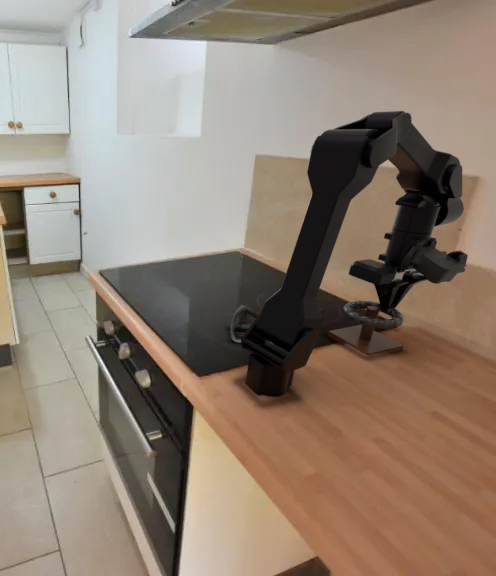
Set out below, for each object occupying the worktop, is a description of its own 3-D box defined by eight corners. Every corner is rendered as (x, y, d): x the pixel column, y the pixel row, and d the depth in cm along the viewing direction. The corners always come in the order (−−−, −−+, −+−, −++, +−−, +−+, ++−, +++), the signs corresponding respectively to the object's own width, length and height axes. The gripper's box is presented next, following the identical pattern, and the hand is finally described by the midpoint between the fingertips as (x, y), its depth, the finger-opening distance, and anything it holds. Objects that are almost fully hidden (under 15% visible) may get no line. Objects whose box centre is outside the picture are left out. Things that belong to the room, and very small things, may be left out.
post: (366, 359, 70) (377, 321, 67) (327, 336, 78) (335, 302, 75) (402, 350, 72) (414, 314, 70) (360, 329, 80) (369, 296, 77)
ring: (375, 333, 67) (377, 326, 67) (331, 311, 76) (332, 304, 75) (414, 324, 70) (417, 316, 69) (367, 303, 78) (369, 296, 78)
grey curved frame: (283, 329, 81) (246, 288, 81) (296, 337, 74) (255, 291, 74) (248, 358, 82) (211, 317, 82) (258, 368, 75) (217, 323, 75)
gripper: (421, 246, 58) (392, 336, 64) (500, 236, 63) (467, 320, 69) (356, 230, 68) (337, 309, 74) (430, 222, 73) (406, 296, 79)
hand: (387, 308), depth 74 cm, fingers closed on ring, 1 cm apart
